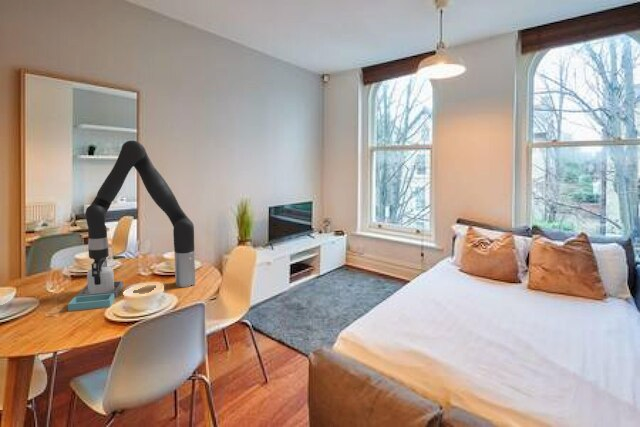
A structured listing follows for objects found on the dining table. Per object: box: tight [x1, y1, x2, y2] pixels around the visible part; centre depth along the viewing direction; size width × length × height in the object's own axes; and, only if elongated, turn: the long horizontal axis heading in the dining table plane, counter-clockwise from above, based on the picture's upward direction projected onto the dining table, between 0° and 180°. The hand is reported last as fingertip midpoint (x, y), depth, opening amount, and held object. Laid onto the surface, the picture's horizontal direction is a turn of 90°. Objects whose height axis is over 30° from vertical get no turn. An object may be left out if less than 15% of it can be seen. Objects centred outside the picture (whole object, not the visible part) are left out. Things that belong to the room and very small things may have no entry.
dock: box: [67, 293, 116, 312], centre depth 139 cm, size 15×8×3 cm, turn 110°
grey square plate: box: [76, 280, 124, 298], centre depth 152 cm, size 15×15×2 cm
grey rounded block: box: [86, 266, 115, 294], centre depth 151 cm, size 10×4×12 cm, turn 124°
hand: (100, 281), depth 151 cm, fingers open, 8 cm apart
